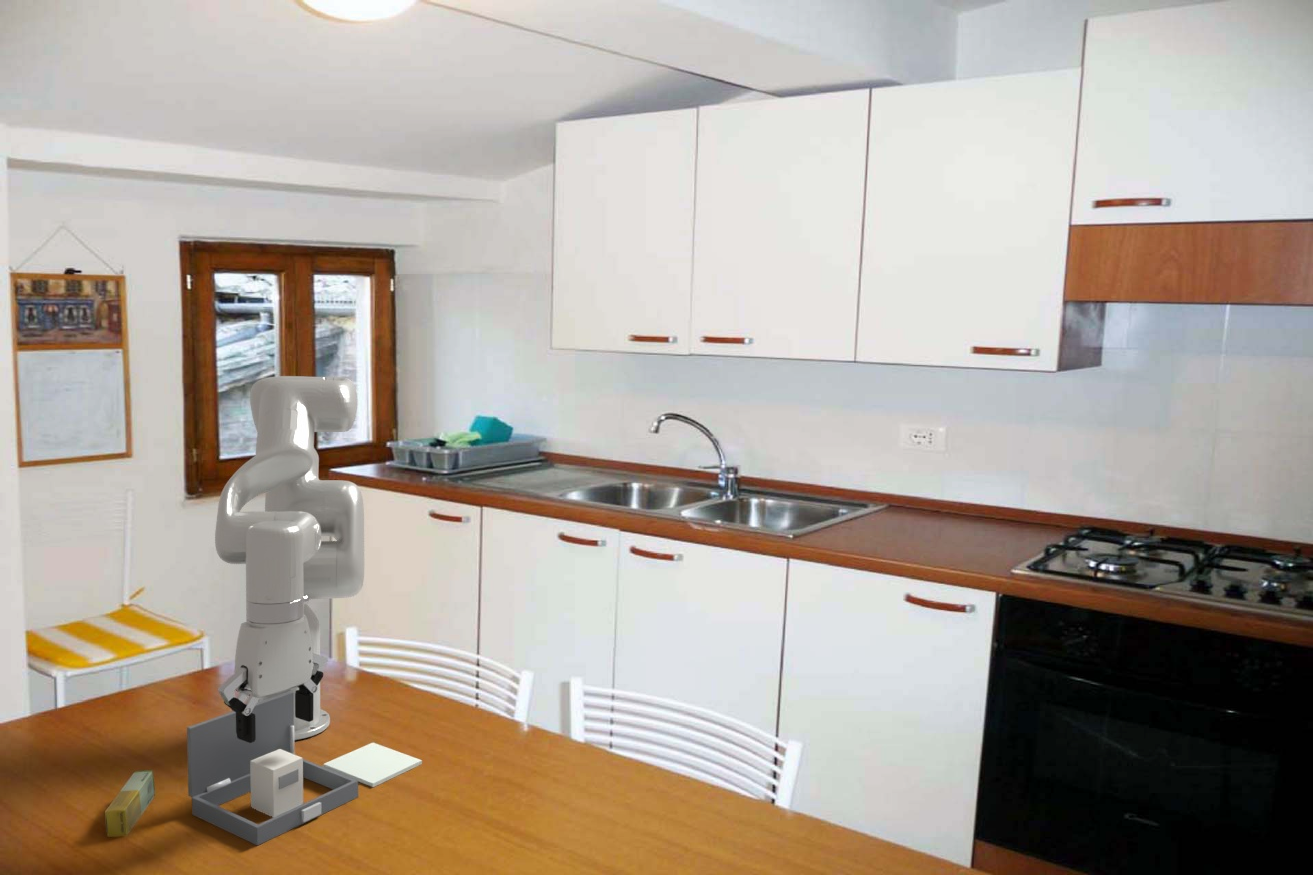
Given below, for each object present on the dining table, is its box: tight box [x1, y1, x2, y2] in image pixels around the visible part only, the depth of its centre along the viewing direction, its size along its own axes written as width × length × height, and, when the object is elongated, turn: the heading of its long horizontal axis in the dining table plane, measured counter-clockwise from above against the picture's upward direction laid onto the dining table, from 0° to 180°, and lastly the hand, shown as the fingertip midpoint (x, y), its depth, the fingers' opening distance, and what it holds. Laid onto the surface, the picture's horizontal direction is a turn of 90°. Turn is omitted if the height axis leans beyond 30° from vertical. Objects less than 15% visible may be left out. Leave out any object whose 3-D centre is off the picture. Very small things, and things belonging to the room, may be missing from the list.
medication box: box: [104, 769, 156, 838], centre depth 147 cm, size 12×3×4 cm, turn 8°
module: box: [250, 749, 304, 818], centre depth 151 cm, size 5×5×7 cm
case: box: [186, 691, 359, 846], centre depth 150 cm, size 16×17×12 cm
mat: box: [322, 742, 423, 788], centre depth 165 cm, size 11×10×1 cm
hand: (276, 729), depth 149 cm, fingers open, 9 cm apart
